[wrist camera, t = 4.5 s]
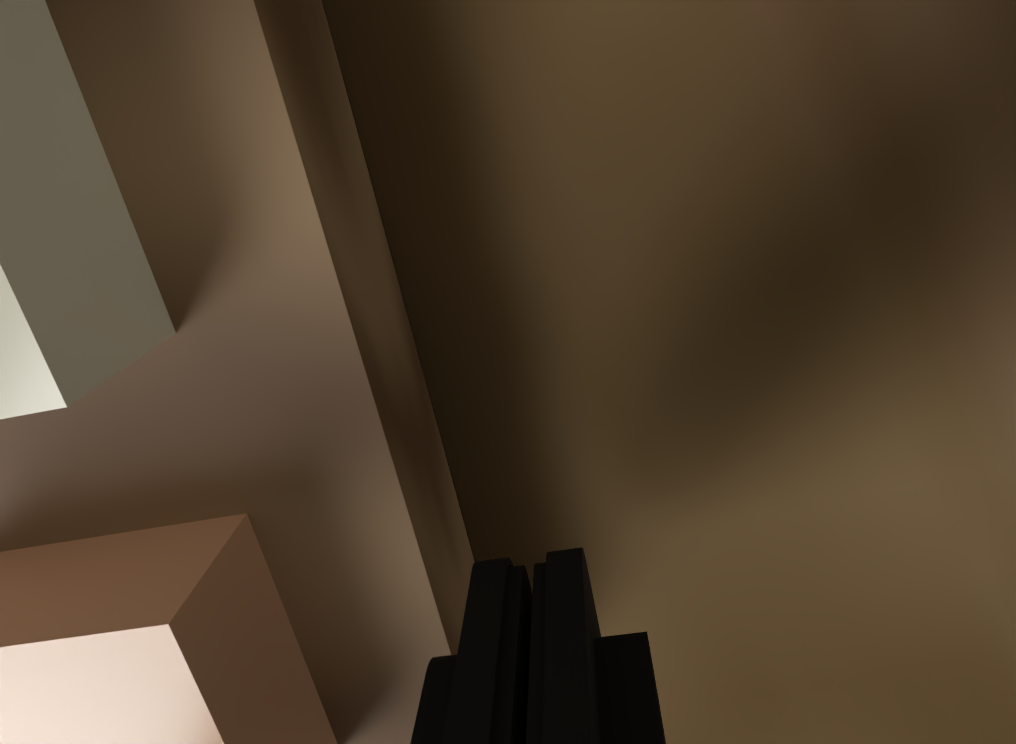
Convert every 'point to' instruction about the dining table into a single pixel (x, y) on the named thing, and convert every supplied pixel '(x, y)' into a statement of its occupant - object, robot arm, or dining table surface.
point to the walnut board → (258, 349)
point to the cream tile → (61, 233)
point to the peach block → (152, 642)
